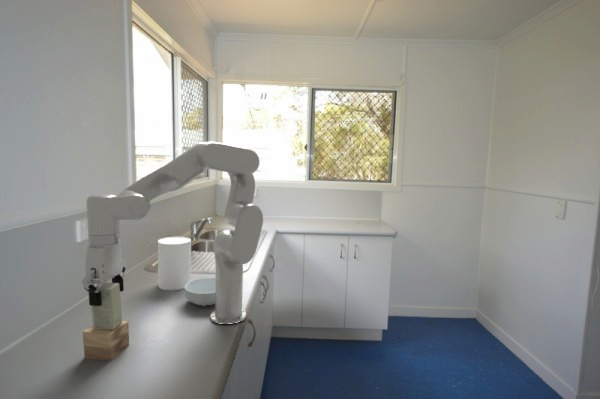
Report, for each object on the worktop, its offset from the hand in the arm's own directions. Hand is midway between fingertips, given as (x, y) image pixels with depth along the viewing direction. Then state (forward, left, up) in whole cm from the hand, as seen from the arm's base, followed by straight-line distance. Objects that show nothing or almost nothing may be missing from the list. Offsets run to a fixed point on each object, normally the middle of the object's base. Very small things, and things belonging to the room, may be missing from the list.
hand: (107, 297), depth 95 cm
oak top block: (0, 0, -12) cm, 12 cm away
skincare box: (0, 0, -8) cm, 8 cm away
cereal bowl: (-37, +16, -16) cm, 43 cm away
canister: (-52, -4, -16) cm, 54 cm away
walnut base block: (0, 0, -16) cm, 16 cm away
